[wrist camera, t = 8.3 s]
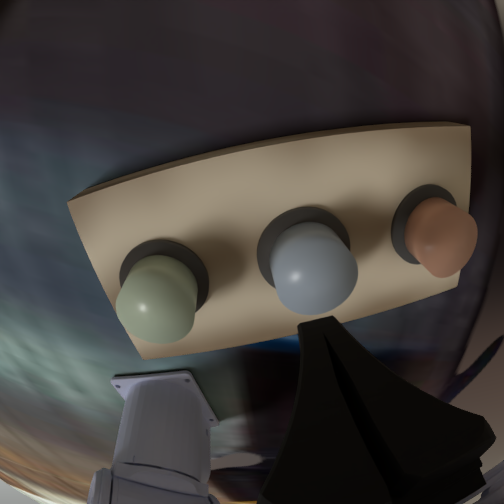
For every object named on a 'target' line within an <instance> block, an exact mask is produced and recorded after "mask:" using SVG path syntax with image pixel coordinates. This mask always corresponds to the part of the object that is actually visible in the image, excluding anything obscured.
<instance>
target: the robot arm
mask: <svg viewBox="0 0 504 504" xmlns="http://www.w3.org/2000/svg"><path fill="white" fill-rule="evenodd" d="M297 330H298V337H299V345H300V369H299V378H298V385H297V391H296V396H295V401H294V406H293V410H292V414H291V417H290V421H289V424H288V428H287V431H286V434H285V437H284V440H283V442H282V445H281V447H280V450H279V452H278V455H277V457H276V460H275V462H274V464H273V467H272V469H271V471H270V473H269V475H268V477H267V479H266V481H265V483H264V484H263V486H262V488H261V490H260V493H259V497H258V500H257V504H463V503H465V502H466V501H468V500H470V499H472V498H473V497H475V496H476V495H478V494H479V493H481V492H482V494H481V498H480V499H479V500H478V501H476V502H475V503H473V504H504V460H503V461H502V462H500V463H499V464H498V465H496V466H495V467H494V468H492V469H491V470H489V471H488V472H486V473H485V474H483V475H482V472H481V470H480V467H482V462H481V460H480V458H479V457H480V456H482V455H483V454H484V453H485V452H486V451H487V450H488V449H489V448H490V447H491V446H492V444H493V443H494V442H495V439H496V436H495V434H494V432H493V431H492V429H491V427H490V425H489V424H488V423H487V421H486V420H485V418H484V417H483V416H480V415H477V414H473V413H470V412H468V411H465V410H462V409H459V408H457V407H455V406H452V405H450V404H448V403H445V402H443V401H441V400H439V399H437V398H435V397H433V396H432V395H430V394H428V393H426V392H424V391H422V390H420V389H419V388H417V387H415V386H414V385H412V384H411V383H409V382H407V381H406V380H404V379H403V378H402V377H400V376H399V375H397V374H396V373H394V372H393V371H392V370H390V369H389V368H388V367H387V366H385V365H384V364H383V363H382V362H380V361H379V360H378V359H377V358H376V357H374V356H373V355H372V354H371V353H370V352H369V351H368V350H367V349H366V348H364V347H363V346H362V345H361V344H360V343H359V342H358V341H357V340H356V339H355V338H354V337H353V336H352V335H351V334H350V333H349V332H348V331H347V330H346V329H345V328H344V327H343V325H342V324H341V323H340V322H339V321H338V320H337V319H336V318H335V317H334V316H333V315H331V316H327V317H323V318H319V319H315V320H311V321H306V322H302V323H299V324H298V325H297ZM111 383H112V385H113V386H114V387H115V389H116V390H117V391H118V392H119V394H120V395H121V396H122V397H123V398H124V400H125V405H124V409H123V414H122V418H121V423H120V427H119V432H118V437H117V442H116V447H115V452H114V458H113V463H112V467H111V469H110V470H109V469H106V468H102V469H101V470H99V471H96V472H95V473H94V476H93V479H92V482H91V486H90V490H89V495H88V500H87V504H220V503H219V501H218V500H217V498H216V497H215V496H213V495H211V494H208V484H206V483H207V481H208V479H209V476H210V427H216V426H219V421H218V419H217V417H216V416H215V414H214V412H213V411H212V409H211V407H210V406H209V404H208V402H207V400H206V399H205V397H204V395H203V393H202V392H201V390H200V388H199V386H198V385H197V383H196V381H195V379H194V377H193V375H192V374H191V372H189V371H186V370H184V371H176V372H167V373H157V374H147V375H135V376H121V377H112V378H111Z"/></svg>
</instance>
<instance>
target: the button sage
mask: <svg viewBox="0 0 504 504" xmlns="http://www.w3.org/2000/svg"><path fill="white" fill-rule="evenodd" d="M197 294H198V286H197V281H196V279H195V276H194V275H193V273H192V272H191V270H190V269H189V268H188V267H187V266H186V265H184V264H183V263H182V262H180V261H179V260H177V259H174V258H172V257H169V256H163V255H153V256H148V257H145V258H143V259H141V260H139V261H138V262H137V263H135V264H134V266H133V267H132V268H131V270H130V272H129V274H128V276H127V278H126V280H125V282H124V284H123V286H122V288H121V290H120V292H119V294H118V297H117V300H116V312H117V316H118V318H119V320H120V322H121V323H122V325H123V326H124V327H125V328H126V329H127V330H128V331H129V332H130V333H131V334H133V335H134V336H136V337H138V338H140V339H142V340H144V341H147V342H151V343H157V344H167V343H173V342H176V341H178V340H181V339H182V338H184V337H185V336H186V335H187V334H188V333H189V332H190V331H191V329H192V327H193V324H194V319H195V310H196V302H197Z"/></svg>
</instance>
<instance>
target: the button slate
mask: <svg viewBox="0 0 504 504" xmlns="http://www.w3.org/2000/svg"><path fill="white" fill-rule="evenodd" d="M269 263H270V268H271V272H272V276H273V280H274V283H275V287H276V291H277V295H278V297H279V299H280V301H281V302H282V304H283V305H284V306H285V307H286V308H288V309H289V310H291V311H293V312H295V313H298V314H302V315H318V314H322V313H326V312H328V311H331V310H333V309H335V308H336V307H338V306H339V305H341V304H342V303H343V302H344V301H345V300H346V299H347V298H348V297H349V296H350V294H351V293H352V291H353V290H354V288H355V286H356V283H357V279H358V266H357V262H356V260H355V258H354V256H353V255H352V254H351V252H350V251H349V250H348V248H347V247H346V246H345V244H344V243H343V242H342V241H341V239H340V238H339V237H338V235H337V234H336V233H335V232H334V231H333V230H332V229H331V228H329V227H328V226H326V225H324V224H321V223H317V222H303V223H299V224H296V225H293V226H291V227H290V228H288V229H286V230H285V231H284V232H282V233H281V234H280V235H279V236H278V238H277V239H276V240H275V242H274V243H273V246H272V248H271V251H270V256H269Z"/></svg>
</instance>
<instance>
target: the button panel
mask: <svg viewBox="0 0 504 504" xmlns="http://www.w3.org/2000/svg"><path fill="white" fill-rule="evenodd" d="M470 183H471V129H470V126H467V125H463V124H458V123H453V122H448V121H442V122H411V123H393V124H380V125H368V126H358V127H349V128H340V129H332V130H324V131H317V132H310V133H303V134H297V135H291V136H285V137H279V138H273V139H268V140H263V141H257V142H252V143H247V144H243V145H238V146H233V147H229V148H224V149H220V150H216V151H211V152H207V153H203V154H199V155H195V156H191V157H187V158H184V159H180V160H176V161H172V162H169V163H165V164H162V165H158V166H155V167H151V168H148V169H145V170H141V171H138V172H135V173H132V174H129V175H126V176H122V177H119V178H116V179H113V180H110V181H108V182H105V183H102V184H99V185H96V186H93V187H91V188H88V189H85V190H83V191H82V192H80V193H79V194H77V195H76V196H75V197H73V198H72V199H70V200H69V201H68V202H67V204H68V207H69V210H70V213H71V215H72V218H73V220H74V223H75V226H76V228H77V231H78V233H79V235H80V238H81V240H82V243H83V245H84V247H85V250H86V252H87V254H88V256H89V259H90V261H91V263H92V265H93V267H94V270H95V272H96V274H97V276H98V278H99V280H100V282H101V284H102V286H103V288H104V290H105V292H106V294H107V296H108V298H109V300H110V302H111V304H112V306H113V308H114V310H115V312H116V300H117V297H118V294H119V292H120V290H121V288H122V286H123V284H124V282H125V280H126V278H127V276H128V274H129V272H130V270H131V268H132V267H133V266H134V264H135V263H137V262H138V261H139V260H141V259H143V258H145V257H148V256H153V255H163V256H169V257H172V258H174V259H177V260H179V261H180V262H182V263H183V264H184V265H186V266H187V267H188V268H189V269H190V270H191V272H192V273H193V275H194V276H195V279H196V281H197V286H198V294H197V302H196V310H195V319H194V324H193V327H192V329H191V331H190V332H189V333H188V334H187V335H186V336H185V337H184V338H182V339H181V340H178V341H176V342H173V343H167V344H157V343H151V342H147V341H144V340H142V339H140V338H138V337H136V336H134V335H133V334H131V333H130V332H129V331H128V330H127V329H126V328H125V327H124V328H125V330H126V331H127V333H128V335H129V337H130V338H131V340H132V342H133V344H134V345H135V347H136V349H137V350H138V352H139V354H140V355H141V357H142V358H143V360H146V359H155V358H163V357H171V356H179V355H186V354H193V353H199V352H206V351H212V350H218V349H224V348H230V347H236V346H241V345H246V344H252V343H257V342H262V341H267V340H272V339H276V338H281V337H286V336H290V335H295V334H298V330H297V325H298V324H299V323H302V322H306V321H311V320H315V319H319V318H323V317H327V316H331V315H333V316H334V317H335V318H336V319H337V320H338V321H339V322H340V323H344V322H347V321H351V320H355V319H358V318H362V317H365V316H369V315H372V314H376V313H379V312H383V311H386V310H389V309H392V308H396V307H399V306H402V305H405V304H408V303H411V302H414V301H417V300H420V299H423V298H426V297H429V296H432V295H435V294H438V293H441V292H444V291H446V290H449V289H452V288H455V287H457V284H458V279H459V274H460V270H459V271H458V272H457V273H455V274H454V275H452V276H449V277H446V278H438V277H435V276H433V275H432V274H431V273H430V272H429V271H428V270H427V269H426V268H425V267H424V266H423V265H422V264H421V263H420V262H419V261H418V260H417V259H416V258H415V257H414V256H413V255H412V254H411V253H410V252H409V251H408V250H407V248H406V245H405V240H404V232H405V226H406V223H407V221H408V218H409V216H410V214H411V213H412V211H413V210H414V209H415V208H416V207H417V206H418V205H419V204H420V203H421V202H422V201H424V200H426V199H428V198H431V197H440V198H443V199H445V200H446V201H448V202H450V203H451V204H453V205H455V206H457V207H458V208H460V209H462V210H463V211H465V212H466V213H468V212H469V200H470ZM303 222H317V223H321V224H324V225H326V226H328V227H329V228H331V229H332V230H333V231H334V232H335V233H336V234H337V235H338V237H339V238H340V239H341V241H342V242H343V243H344V244H345V246H346V247H347V248H348V250H349V251H350V252H351V254H352V255H353V256H354V258H355V260H356V262H357V266H358V279H357V283H356V286H355V288H354V290H353V291H352V293H351V294H350V296H349V297H348V298H347V299H346V300H345V301H344V302H343V303H342V304H341V305H339V306H338V307H336V308H335V309H333V310H331V311H328V312H326V313H322V314H318V315H302V314H298V313H295V312H293V311H291V310H289V309H288V308H286V307H285V306H284V305H283V304H282V302H281V301H280V299H279V297H278V295H277V291H276V287H275V283H274V280H273V276H272V272H271V268H270V263H269V256H270V251H271V248H272V246H273V243H274V242H275V240H276V239H277V238H278V236H279V235H280V234H281V233H282V232H284V231H285V230H286V229H288V228H290V227H291V226H293V225H296V224H299V223H303ZM116 313H117V312H116Z"/></svg>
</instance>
